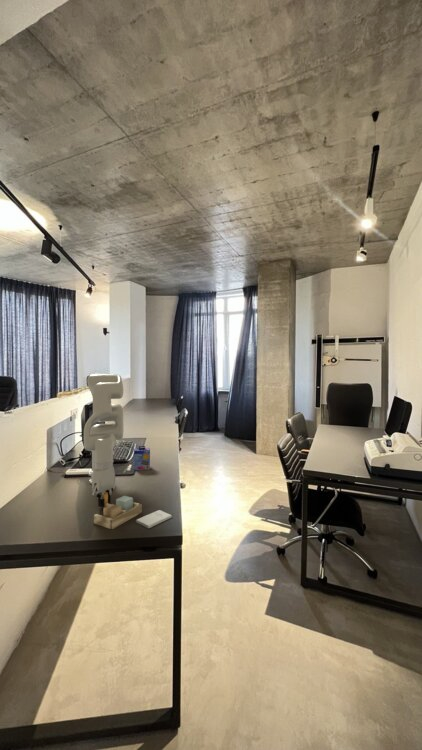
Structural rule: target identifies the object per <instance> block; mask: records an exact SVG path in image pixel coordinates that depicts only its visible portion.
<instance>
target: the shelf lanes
mask: <svg viewBox="0 0 422 750" xmlns="http://www.w3.org/2000/svg"><path fill="white" fill-rule="evenodd" d="M142 512H143V504H142V503H138V502H135V501H133V508H131V509H129V510H127V511H125V510H121V514H120V515H118V516H117V517H115V518H113V519H112V518H108V517H105V516H103V515H102V514H101V515H100V514H98V513H95V514H94V515H93V524H95V525H98V526H101V527H103V528H106V529H110V530H114V529H116V528H117V527H119V526H121V525H122V524H125V523H126V522H128V521H129V520H131V519H133V518H135V517H136V516H138V515H140V514H141V513H142Z"/></svg>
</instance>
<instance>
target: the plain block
mask: <svg viewBox="0 0 422 750" xmlns="http://www.w3.org/2000/svg"><path fill="white" fill-rule="evenodd" d="M111 504H112V505H110V506H108V507H106V508H102V509H103V515H102V516H105V517H108V518H112V519H113V518H115V517H117V516H118V515H120V514H121V506H117V505H116V504H114V503H111Z"/></svg>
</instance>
